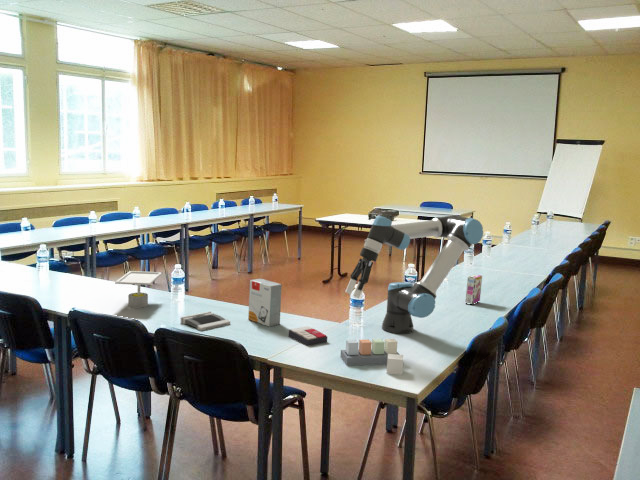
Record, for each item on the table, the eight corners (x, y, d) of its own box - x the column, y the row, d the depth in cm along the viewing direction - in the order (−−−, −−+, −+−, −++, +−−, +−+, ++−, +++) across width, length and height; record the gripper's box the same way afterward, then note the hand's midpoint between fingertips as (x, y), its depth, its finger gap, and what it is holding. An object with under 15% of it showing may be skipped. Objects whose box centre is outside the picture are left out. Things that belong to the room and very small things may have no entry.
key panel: (393, 355, 254) (393, 348, 253) (401, 363, 244) (402, 356, 244) (340, 356, 249) (340, 349, 248) (346, 365, 239) (347, 358, 239)
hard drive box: (247, 319, 297) (248, 280, 294) (259, 317, 302) (260, 278, 300) (268, 326, 286) (270, 285, 284) (280, 324, 292) (282, 283, 289)
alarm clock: (209, 311, 298) (230, 315, 287) (210, 320, 298) (231, 325, 287) (180, 317, 285) (201, 322, 274) (180, 326, 285) (201, 332, 274)
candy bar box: (473, 305, 348) (475, 277, 346) (464, 304, 351) (467, 276, 349) (480, 302, 357) (482, 275, 355) (472, 301, 360) (474, 274, 358)
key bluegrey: (355, 351, 246) (355, 339, 246) (357, 354, 243) (358, 342, 242) (345, 351, 246) (346, 339, 245) (348, 355, 242) (348, 343, 241)
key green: (380, 350, 249) (381, 339, 248) (383, 354, 245) (384, 342, 244) (371, 351, 248) (372, 339, 247) (374, 354, 244) (375, 342, 243)
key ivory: (393, 350, 250) (394, 338, 249) (396, 353, 246) (397, 341, 245) (384, 350, 249) (385, 339, 248) (387, 354, 245) (388, 342, 245)
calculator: (308, 338, 260) (288, 328, 272) (307, 348, 261) (287, 337, 273) (328, 335, 267) (308, 324, 278) (327, 344, 268) (307, 333, 279)
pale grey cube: (402, 375, 232) (403, 359, 231) (386, 373, 233) (387, 358, 232) (402, 369, 238) (403, 354, 237) (387, 368, 238) (387, 353, 238)
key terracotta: (367, 351, 248) (368, 339, 247) (370, 354, 244) (371, 342, 243) (358, 351, 247) (359, 339, 246) (361, 354, 243) (362, 342, 242)
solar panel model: (149, 312, 301) (149, 283, 298) (114, 311, 300) (114, 281, 298) (161, 299, 328) (161, 272, 326) (129, 298, 327) (129, 270, 325)
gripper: (356, 245, 275) (337, 288, 274) (371, 248, 250) (351, 295, 249) (370, 252, 276) (352, 294, 275) (387, 255, 252) (367, 302, 251)
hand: (351, 295), depth 262 cm, fingers open, 13 cm apart
